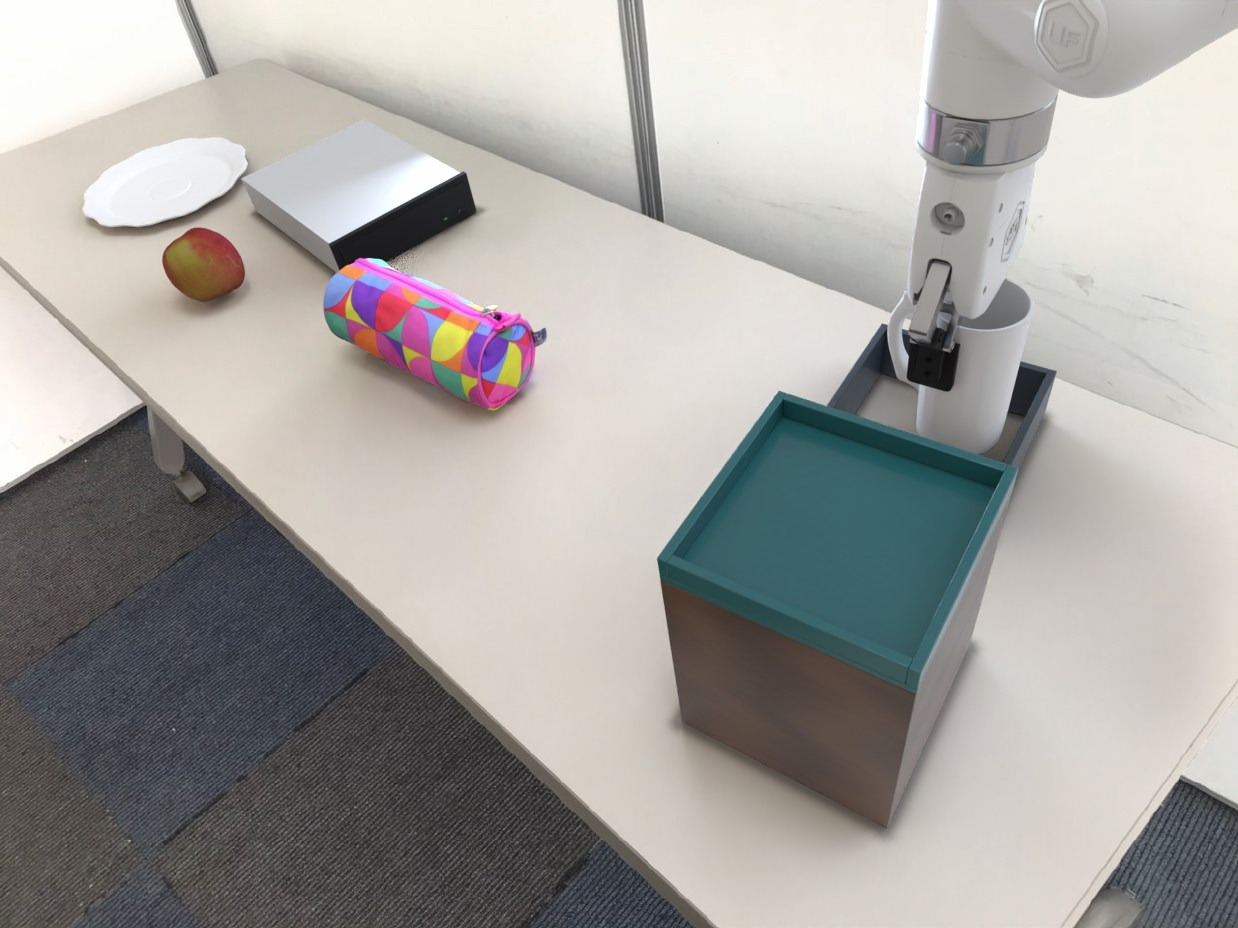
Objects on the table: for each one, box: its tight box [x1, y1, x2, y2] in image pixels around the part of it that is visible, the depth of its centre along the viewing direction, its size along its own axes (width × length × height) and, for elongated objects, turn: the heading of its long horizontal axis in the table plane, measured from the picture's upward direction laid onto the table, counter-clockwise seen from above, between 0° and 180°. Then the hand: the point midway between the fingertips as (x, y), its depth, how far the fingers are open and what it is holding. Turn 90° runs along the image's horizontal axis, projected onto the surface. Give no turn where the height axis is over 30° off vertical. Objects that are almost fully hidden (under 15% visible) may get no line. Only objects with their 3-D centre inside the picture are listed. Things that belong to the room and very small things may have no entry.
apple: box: [161, 226, 246, 303], centre depth 101 cm, size 8×8×8 cm
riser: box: [659, 492, 1013, 829], centre depth 57 cm, size 14×14×16 cm
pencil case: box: [322, 258, 548, 411], centre depth 87 cm, size 22×9×9 cm, turn 56°
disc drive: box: [241, 118, 477, 274], centre depth 110 cm, size 18×22×5 cm
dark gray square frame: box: [826, 322, 1058, 471], centre depth 74 cm, size 14×14×5 cm
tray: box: [656, 390, 1019, 694], centre depth 51 cm, size 14×14×2 cm
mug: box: [887, 277, 1035, 456], centre depth 69 cm, size 10×7×12 cm, turn 47°
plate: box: [81, 136, 249, 228], centre depth 121 cm, size 21×21×2 cm
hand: (948, 350), depth 68 cm, fingers closed on mug, 6 cm apart
